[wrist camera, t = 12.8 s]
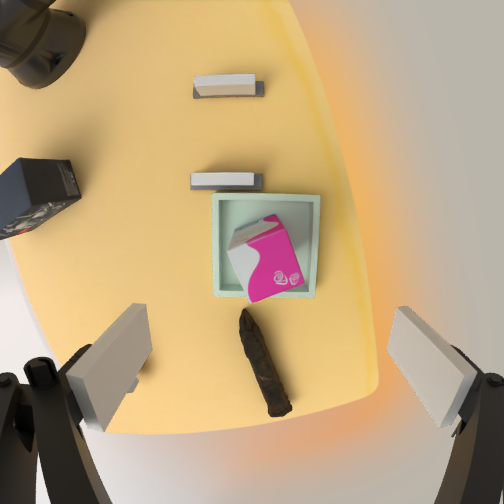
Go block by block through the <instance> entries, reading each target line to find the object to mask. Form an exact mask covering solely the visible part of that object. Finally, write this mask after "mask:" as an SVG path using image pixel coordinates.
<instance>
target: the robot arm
mask: <svg viewBox="0 0 504 504" xmlns="http://www.w3.org/2000/svg"><path fill="white" fill-rule="evenodd" d="M55 1H56V0H0V67H3V68H6V69H8V70H9V71H10V72H11V73H12V74H13V75H14V76H15V77H16V78H17V79H18V81H19V82H20V83H21V84H22V85H24V86H26V87H29V88H32V89H40V88H43V87H46V86H48V85H49V84H51V83H53V82H54V81H55V80H57V79H58V78H59V77H60V76H61V75H62V74H63V73H64V72H65V71H66V70H67V69H68V68H69V66H70V65H71V64H72V62H73V61H74V59H75V58H76V56H77V55H78V53H79V51H80V49H81V47H82V44H83V41H84V38H85V24H84V22H83V20H82V19H81V18H79V17H78V16H77V15H76V14H74V13H72V12H66V11H62V10H56V9H50V8H48V7H49V6H50V5H52V4H53V3H54V2H55ZM151 351H152V344H151V337H150V331H149V324H148V316H147V308H146V304H137V303H133V304H132V305H131V306H130V307H129V308H128V309H127V310H126V311H125V312H124V313H123V314H122V315H121V316H120V317H119V318H118V319H117V320H116V321H115V322H114V323H113V324H112V325H111V326H110V327H109V328H108V329H107V330H106V331H105V332H104V333H103V334H102V335H101V336H100V337H99V338H98V340H97V341H96V342H95V343H94V344H93V345H92V344H87V345H86V346H84V347H82V348H80V349H79V350H78V351H77V352H76V353H75V354H74V356H72V357H71V358H70V359H69V361H67V362H66V363H65V364H64V365H63V366H62V368H61V369H60V370H59V371H58V372H57V370H56V367H55V364H54V362H53V360H52V359H50V358H48V357H37V358H34V359H32V360H30V361H28V362H27V363H26V364H25V366H24V372H25V374H26V376H27V379H28V381H29V384H20V383H19V381H18V378H17V377H16V375H15V374H13V373H9V372H6V373H1V374H0V504H36V472H37V458H38V453H39V458H40V463H41V467H42V472H43V477H44V480H45V484H46V488H47V492H48V496H49V499H50V502H51V504H112V502H111V500H110V498H109V496H108V494H107V492H106V490H105V488H104V485H103V483H102V481H101V479H100V476H99V474H98V472H97V469H96V467H95V464H94V462H93V459H92V457H91V454H90V452H89V449H88V446H87V444H86V441H85V438H84V435H83V432H82V429H81V427H80V425H79V423H80V422H81V420H82V419H83V418H84V421H85V423H86V425H87V427H88V428H90V429H94V430H97V431H100V432H105V430H106V428H107V426H108V424H109V423H110V421H111V419H112V417H113V416H114V414H115V412H116V410H117V409H118V407H119V405H120V403H121V402H122V400H123V398H124V396H125V395H126V393H127V391H128V390H129V388H130V386H131V384H132V383H133V381H134V379H135V378H136V376H137V374H138V373H139V371H140V369H141V368H142V366H143V364H144V363H145V361H146V359H147V358H148V356H149V354H150V353H151ZM387 352H388V354H389V355H390V356H391V358H392V359H393V361H394V362H395V364H396V365H397V366H398V368H399V369H400V371H401V372H402V374H403V375H404V377H405V378H406V379H407V381H408V382H409V384H410V385H411V387H412V388H413V390H414V391H415V393H416V394H417V396H418V397H419V399H420V400H421V402H422V403H423V405H424V406H425V408H426V409H427V411H428V413H429V414H430V416H431V417H432V419H433V420H434V422H435V423H436V425H437V427H438V428H442V427H444V426H448V425H451V424H452V423H453V422H454V420H455V418H456V416H457V414H459V415H460V417H461V418H462V419H461V421H460V423H459V424H458V426H457V428H456V430H455V431H454V433H453V434H452V436H451V437H454V435H455V434H456V437H455V441H454V445H453V449H452V452H451V456H450V459H449V463H448V466H447V469H446V472H445V476H444V478H443V481H442V484H441V487H440V490H439V492H438V495H437V497H436V500H435V503H434V504H499V503H500V497H501V492H502V490H503V504H504V378H503V377H502V376H500V375H499V374H495V373H486V374H484V373H483V372H482V371H481V370H480V369H479V368H478V367H477V366H476V365H475V364H474V363H473V362H472V361H471V360H470V359H469V358H468V357H467V356H465V354H464V353H463V352H462V351H461V350H460V349H458V348H456V347H454V346H453V345H450V344H449V343H447V342H446V341H445V340H444V339H443V338H442V337H441V336H440V335H439V334H438V333H437V332H436V331H435V330H434V329H433V328H431V327H430V326H429V325H428V324H427V323H426V322H425V321H424V320H423V319H422V318H421V317H419V316H418V315H417V314H416V313H415V312H414V311H412V309H411V308H409V307H408V306H402V307H396V311H395V315H394V321H393V325H392V330H391V334H390V339H389V343H388V347H387Z"/></svg>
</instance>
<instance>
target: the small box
mask: <svg viewBox="0 0 504 504" xmlns="http://www.w3.org/2000/svg"><path fill="white" fill-rule="evenodd" d="M80 199H81V195H80V192H79V189H78V185H77V182H76V179H75V176H74V173H73V170H72V167H71V163H70V160H53V159H30V158H18V159H17V160H16V161H15V162H14V163H12V164H11V165H10V166H9V167H8V168H7V169H6V170H5V171H4V172H3V173H2V174H1V175H0V240H2V239H6V238H9V237H12V236H15V235H19V234H22V233H25V232H28V231H32V230H34V229H35V228H37V227H38V226H39V225H41V224H42V223H44V222H45V221H47V220H48V219H50V218H51V217H53V216H54V215H56V214H57V213H59V212H60V211H62V210H63V209H65V208H67V207H68V206H70V205H71V204H73V203H75V202H76V201H78V200H80Z"/></svg>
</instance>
